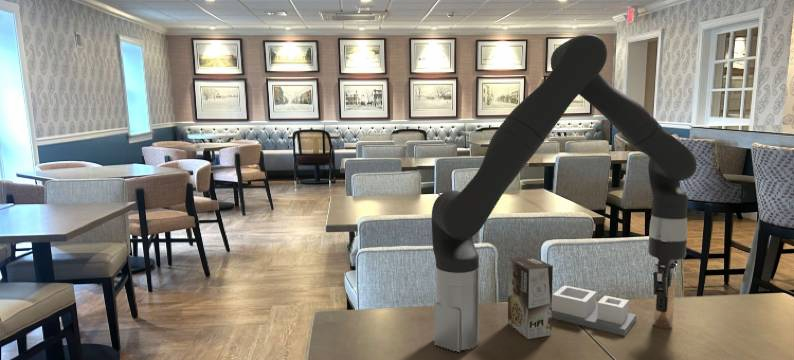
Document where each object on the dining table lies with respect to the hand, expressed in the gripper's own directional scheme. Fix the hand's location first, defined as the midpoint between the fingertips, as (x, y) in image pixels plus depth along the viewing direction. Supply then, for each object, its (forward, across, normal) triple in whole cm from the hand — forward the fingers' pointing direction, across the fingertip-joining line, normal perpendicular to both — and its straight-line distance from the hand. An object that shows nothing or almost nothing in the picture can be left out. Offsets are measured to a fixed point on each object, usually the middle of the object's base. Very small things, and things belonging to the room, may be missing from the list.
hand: (663, 307), depth 116 cm
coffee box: (+5, +20, -24) cm, 32 cm away
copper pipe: (+4, 0, 0) cm, 4 cm away
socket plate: (+4, +6, -14) cm, 16 cm away
